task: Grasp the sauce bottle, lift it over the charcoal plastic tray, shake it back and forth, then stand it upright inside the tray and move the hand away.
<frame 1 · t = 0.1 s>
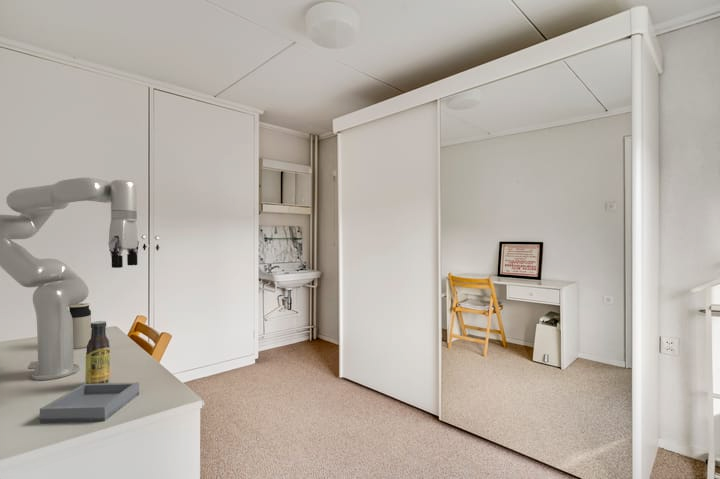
hand: (125, 266, 129), 37 cm above the table, tool pointing down, fingers open, 9 cm apart
tray: (93, 407, 103), on the table
sauce bottle: (98, 385, 119), on the table
travel mug: (80, 347, 161), on the table
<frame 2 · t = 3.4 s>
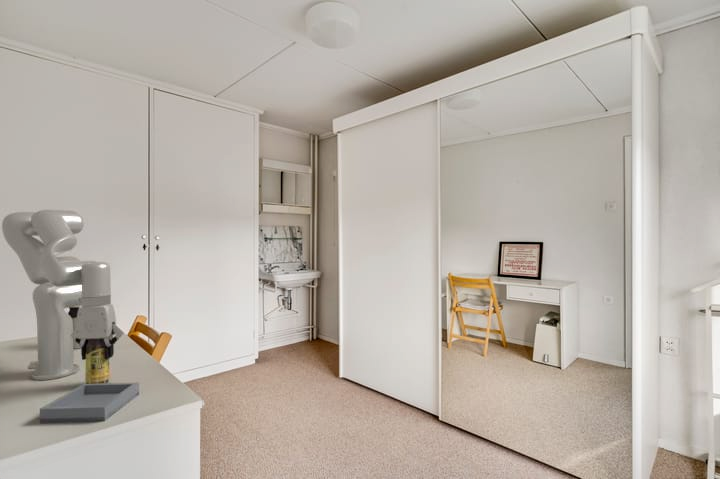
hand: (97, 357, 119), 9 cm above the table, tool pointing down, fingers closed on sauce bottle, 6 cm apart
sauce bottle: (98, 385, 119), on the table, touching gripper
everything else where it was.
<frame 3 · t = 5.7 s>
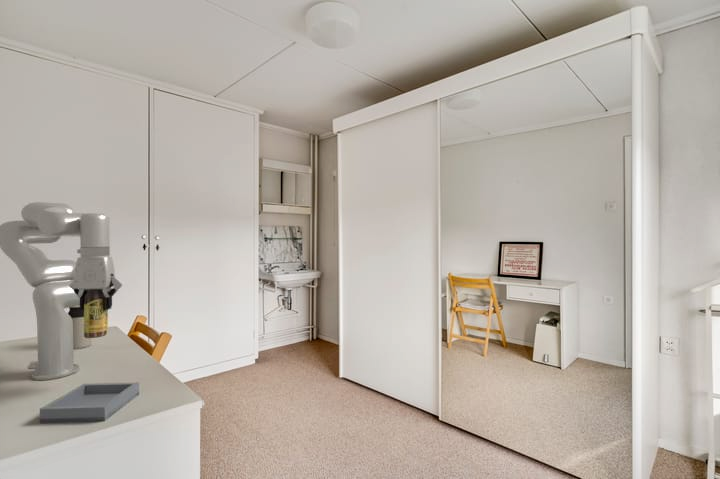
hand: (96, 308, 119), 24 cm above the table, tool pointing down, fingers closed on sauce bottle, 6 cm apart
sauce bottle: (96, 336, 119), point 15 cm above the table, touching gripper
everything else where it was.
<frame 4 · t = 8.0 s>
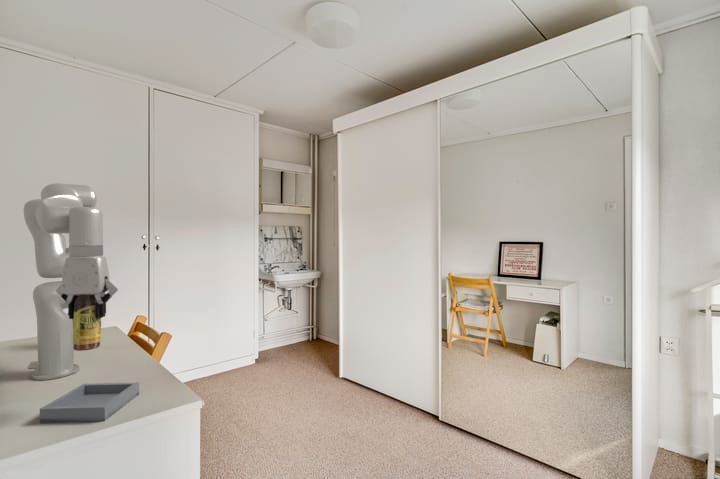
hand: (87, 317, 103), 25 cm above the table, tool pointing down, fingers closed on sauce bottle, 6 cm apart
sauce bottle: (88, 348, 103), point 16 cm above the table, touching gripper
everything else where it was.
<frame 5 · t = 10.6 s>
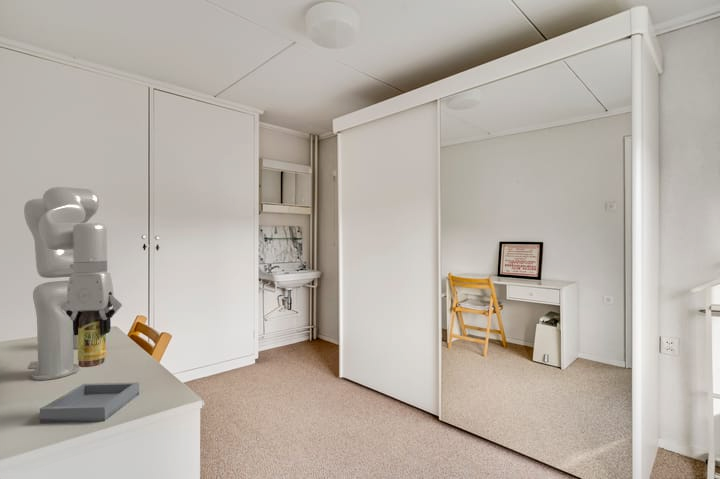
hand: (92, 333, 103), 20 cm above the table, tool pointing down, fingers closed on sauce bottle, 6 cm apart
sauce bottle: (92, 365, 103), point 12 cm above the table, touching gripper
everything else where it was.
when the fingers open (11 cm above the table, at t = 12.7 s): sauce bottle drops 1 cm, resting on tray.
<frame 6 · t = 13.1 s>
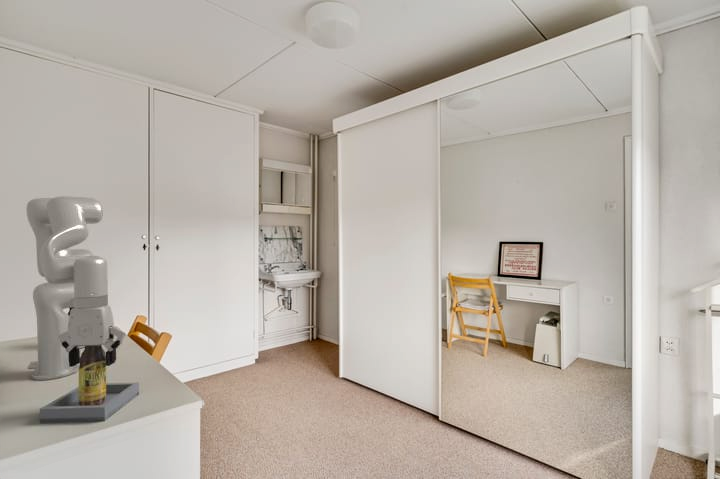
hand: (92, 364, 103), 12 cm above the table, tool pointing down, fingers open, 9 cm apart
sauce bottle: (93, 403, 103), point 1 cm above the table, touching tray
everything else where it was.
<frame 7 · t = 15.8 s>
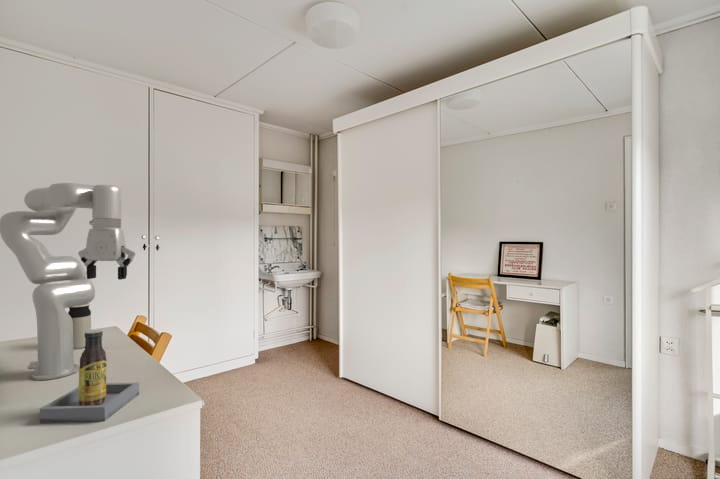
hand: (106, 278, 119), 34 cm above the table, tool pointing down, fingers open, 9 cm apart
nothing on the table moved.
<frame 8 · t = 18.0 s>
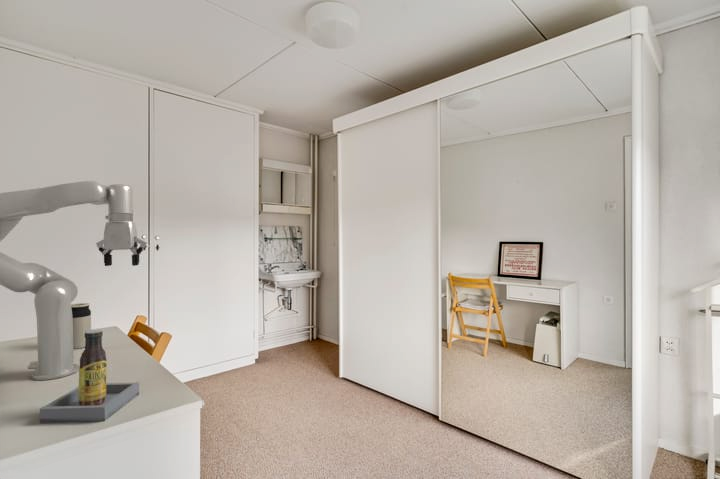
hand: (121, 265, 137), 36 cm above the table, tool pointing down, fingers open, 9 cm apart
nothing on the table moved.
at the end: sauce bottle inside the target area on the tray (0.3 cm from its centre), point 0.8 cm above the tray's base; sauce bottle tilted 0°; the gripper is holding nothing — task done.
